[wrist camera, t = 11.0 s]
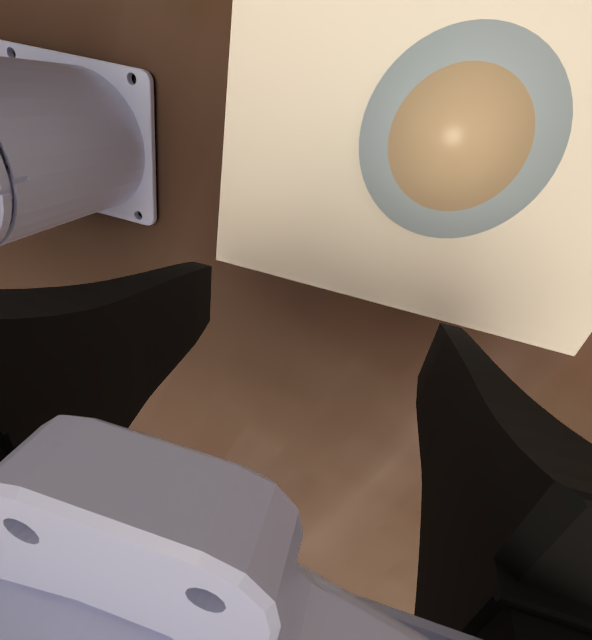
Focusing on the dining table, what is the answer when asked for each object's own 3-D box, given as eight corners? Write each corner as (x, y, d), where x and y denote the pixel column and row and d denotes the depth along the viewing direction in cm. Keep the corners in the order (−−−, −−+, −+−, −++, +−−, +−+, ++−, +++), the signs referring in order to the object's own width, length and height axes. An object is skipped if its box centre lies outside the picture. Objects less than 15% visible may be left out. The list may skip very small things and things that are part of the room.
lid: (221, 255, 19) (215, 259, 18) (254, -201, 11) (246, -216, 11) (569, 348, 17) (574, 356, 16) (895, -133, 9) (924, -147, 9)
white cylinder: (357, 194, 15) (342, 219, 12) (390, 33, 13) (384, 5, 9) (491, 220, 14) (518, 255, 11) (557, 54, 12) (619, 33, 8)
